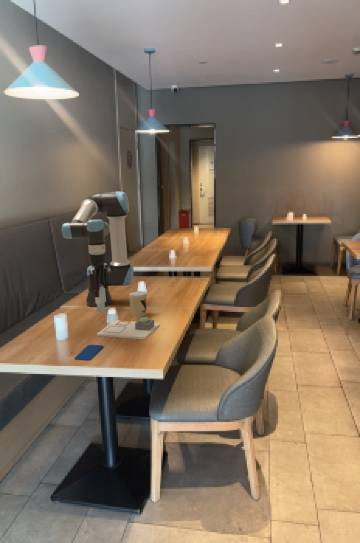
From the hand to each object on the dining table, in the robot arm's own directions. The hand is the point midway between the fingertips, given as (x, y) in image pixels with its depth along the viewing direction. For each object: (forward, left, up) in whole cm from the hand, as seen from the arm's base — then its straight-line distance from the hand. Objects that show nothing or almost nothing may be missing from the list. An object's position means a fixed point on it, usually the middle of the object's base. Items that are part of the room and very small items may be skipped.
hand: (100, 302), depth 212 cm
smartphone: (+6, -25, -15) cm, 30 cm away
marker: (0, 0, -4) cm, 4 cm away
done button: (+18, +8, -12) cm, 24 cm away
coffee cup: (+6, +29, -15) cm, 33 cm away
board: (+11, +5, -15) cm, 19 cm away
